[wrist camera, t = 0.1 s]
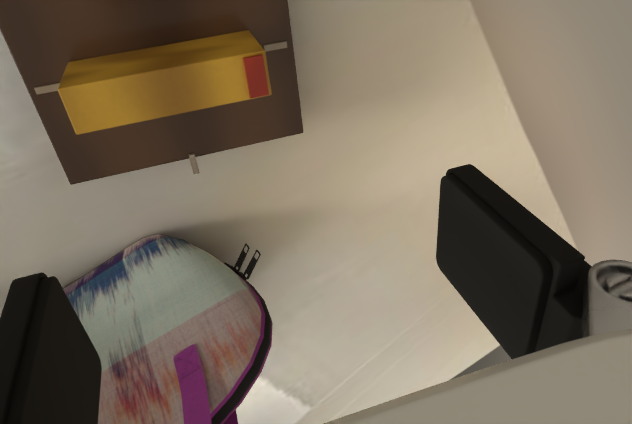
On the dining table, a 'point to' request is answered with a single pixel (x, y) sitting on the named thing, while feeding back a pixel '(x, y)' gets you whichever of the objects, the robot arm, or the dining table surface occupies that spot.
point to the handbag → (173, 333)
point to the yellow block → (163, 81)
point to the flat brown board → (139, 33)
